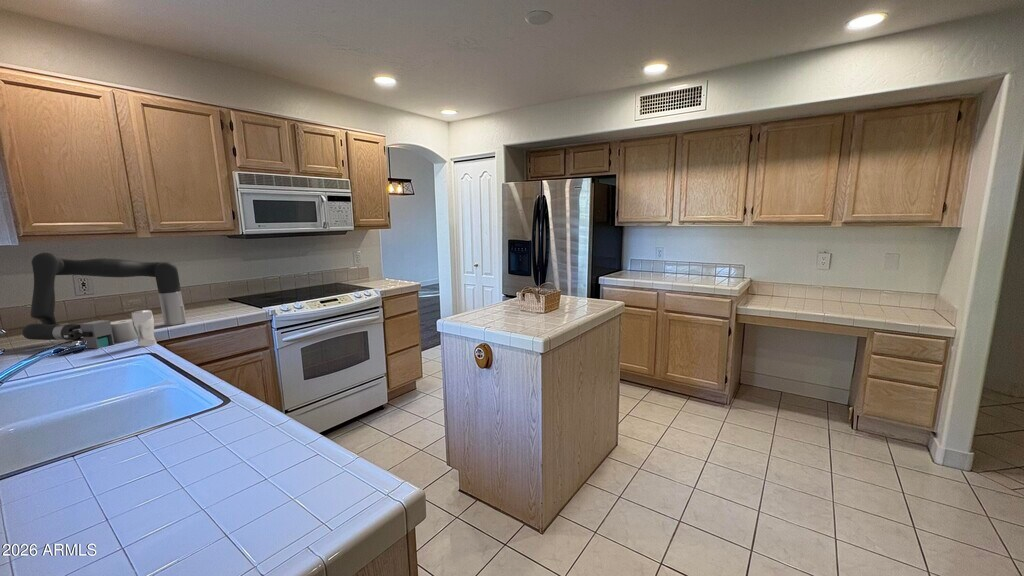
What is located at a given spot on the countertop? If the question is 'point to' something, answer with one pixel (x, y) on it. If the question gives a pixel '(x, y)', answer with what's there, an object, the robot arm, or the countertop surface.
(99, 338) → the block
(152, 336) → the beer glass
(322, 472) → the countertop surface
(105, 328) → the cover
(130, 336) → the toilet tissue
